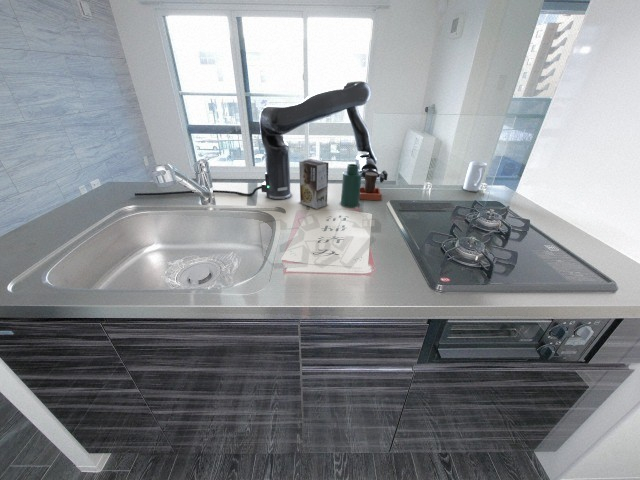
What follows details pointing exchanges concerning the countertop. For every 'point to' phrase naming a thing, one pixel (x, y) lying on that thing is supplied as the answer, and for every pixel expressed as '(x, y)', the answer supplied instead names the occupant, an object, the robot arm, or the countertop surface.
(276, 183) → the robot arm
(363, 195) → the tray
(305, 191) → the coffee box
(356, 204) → the flask
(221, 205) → the countertop surface
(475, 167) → the mug
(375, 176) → the stopper
